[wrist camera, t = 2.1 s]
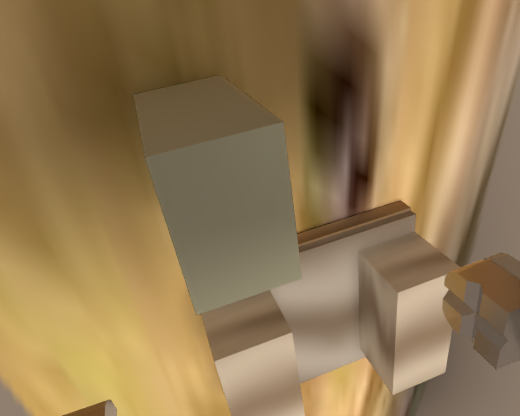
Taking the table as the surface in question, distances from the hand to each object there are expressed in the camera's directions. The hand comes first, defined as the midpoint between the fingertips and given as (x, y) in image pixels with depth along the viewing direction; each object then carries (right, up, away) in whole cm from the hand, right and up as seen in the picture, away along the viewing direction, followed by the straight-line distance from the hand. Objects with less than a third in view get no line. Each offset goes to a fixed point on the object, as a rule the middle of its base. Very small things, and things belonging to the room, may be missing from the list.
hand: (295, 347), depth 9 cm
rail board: (+2, -3, +18) cm, 18 cm away
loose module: (-4, +6, +10) cm, 13 cm away
